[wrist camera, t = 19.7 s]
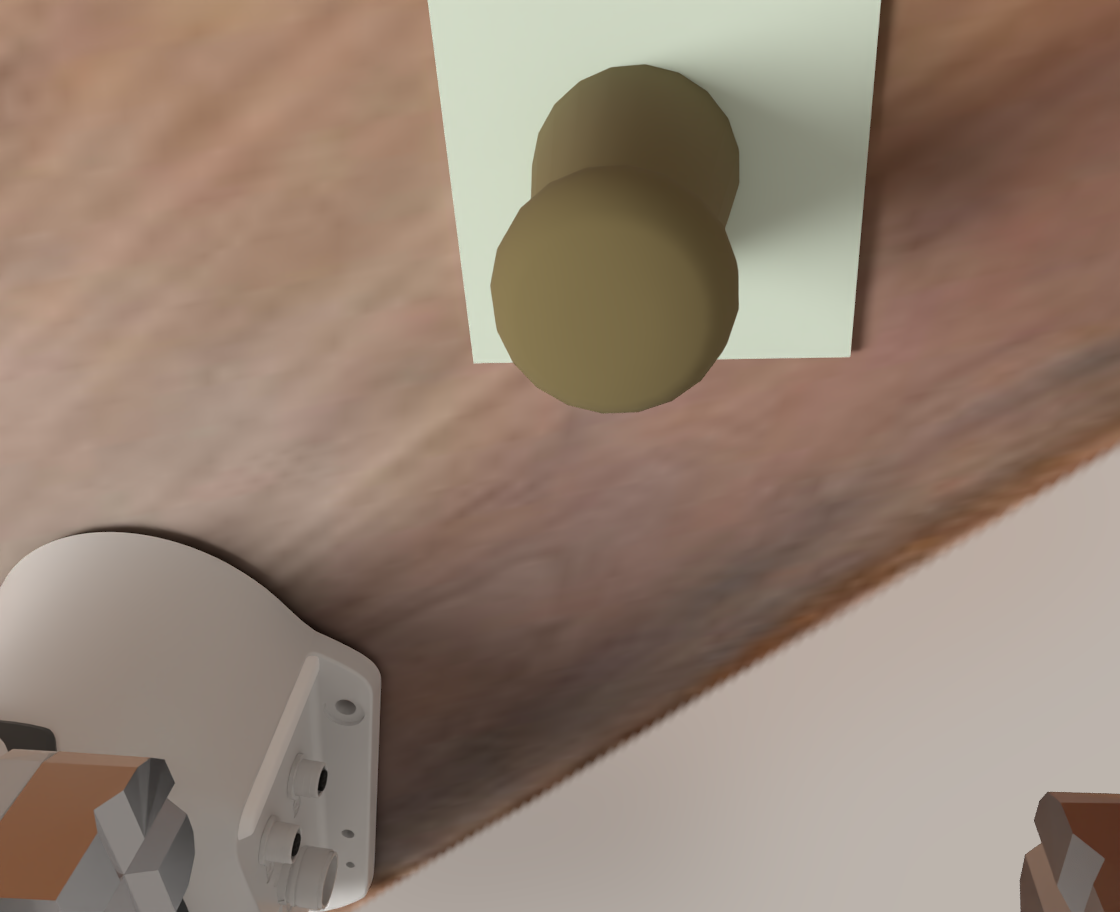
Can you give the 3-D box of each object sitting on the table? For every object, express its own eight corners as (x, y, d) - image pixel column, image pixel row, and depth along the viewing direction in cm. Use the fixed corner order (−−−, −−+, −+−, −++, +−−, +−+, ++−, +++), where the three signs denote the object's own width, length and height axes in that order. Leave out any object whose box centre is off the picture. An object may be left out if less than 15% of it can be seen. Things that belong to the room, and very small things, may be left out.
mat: (848, 351, 31) (850, 357, 31) (475, 358, 33) (473, 363, 32) (884, -80, 25) (887, -79, 25) (425, -46, 27) (422, -45, 26)
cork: (576, 27, 27) (516, 116, 17) (778, 116, 27) (824, 247, 18) (503, 227, 30) (418, 394, 21) (686, 302, 31) (684, 498, 21)
